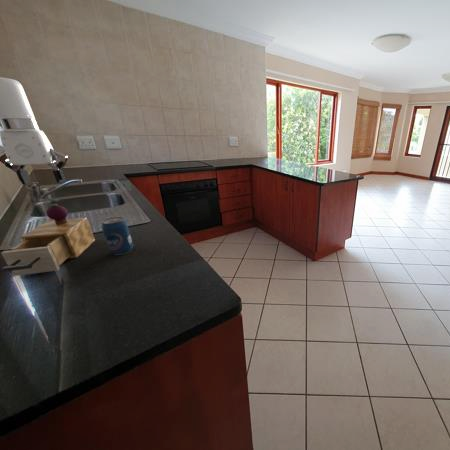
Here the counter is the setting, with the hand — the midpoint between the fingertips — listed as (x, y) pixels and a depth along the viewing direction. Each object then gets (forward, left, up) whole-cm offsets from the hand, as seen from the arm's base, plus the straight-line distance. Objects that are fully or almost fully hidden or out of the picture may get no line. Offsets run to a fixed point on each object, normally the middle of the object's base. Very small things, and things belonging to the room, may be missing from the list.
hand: (44, 182), depth 78 cm
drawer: (0, -15, -23) cm, 28 cm away
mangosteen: (0, 0, -14) cm, 14 cm away
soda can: (+19, -9, -24) cm, 32 cm away
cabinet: (0, -3, -24) cm, 24 cm away
